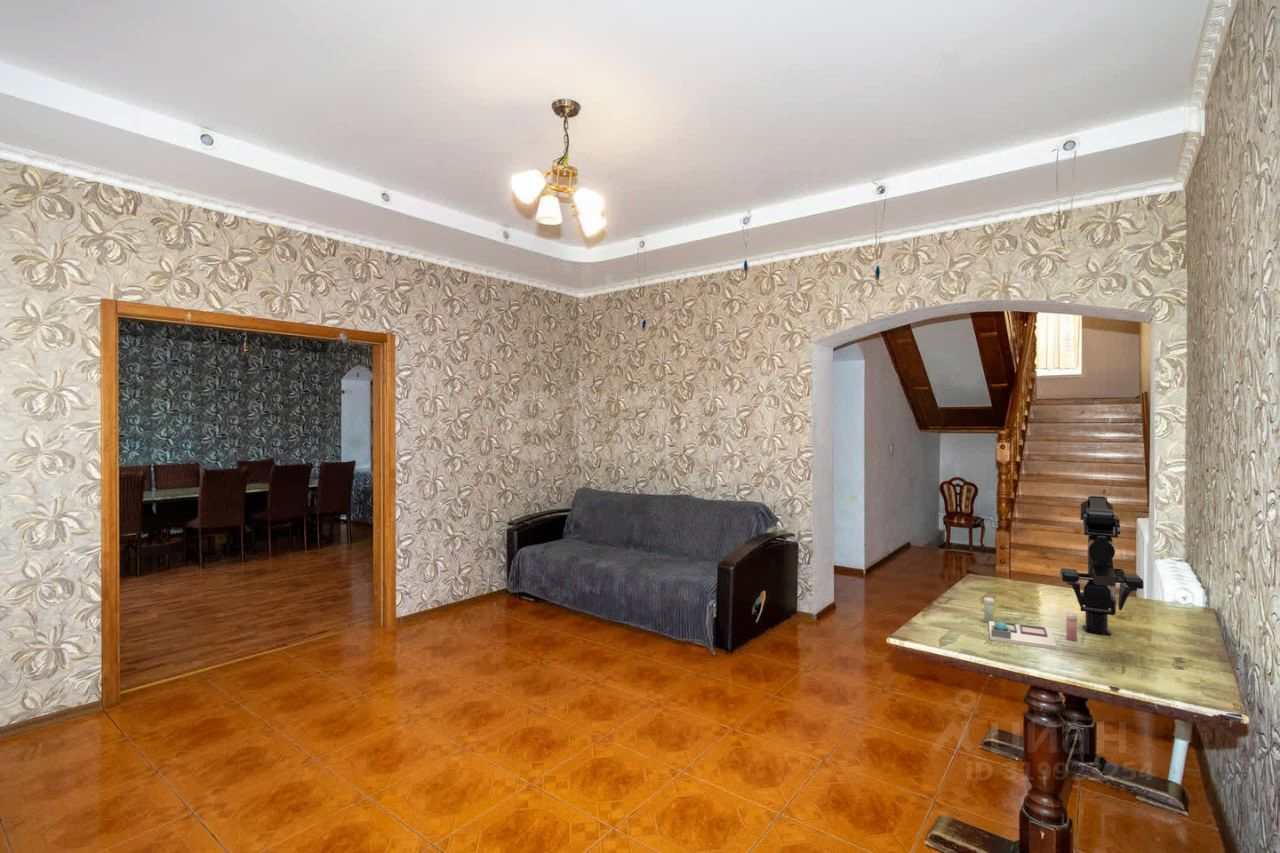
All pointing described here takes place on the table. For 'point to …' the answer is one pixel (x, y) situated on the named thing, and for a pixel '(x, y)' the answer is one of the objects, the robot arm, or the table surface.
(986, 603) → the sage marker
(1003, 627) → the button
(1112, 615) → the robot arm
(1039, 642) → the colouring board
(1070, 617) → the rose marker
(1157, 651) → the table surface
